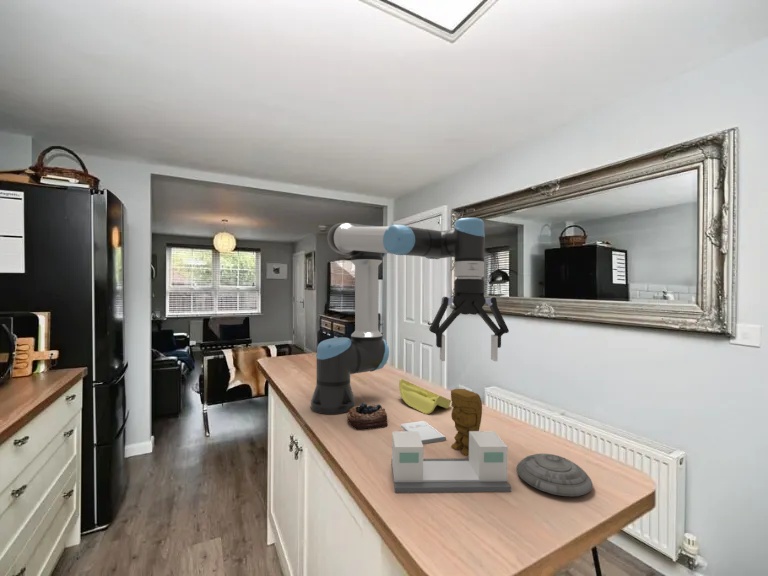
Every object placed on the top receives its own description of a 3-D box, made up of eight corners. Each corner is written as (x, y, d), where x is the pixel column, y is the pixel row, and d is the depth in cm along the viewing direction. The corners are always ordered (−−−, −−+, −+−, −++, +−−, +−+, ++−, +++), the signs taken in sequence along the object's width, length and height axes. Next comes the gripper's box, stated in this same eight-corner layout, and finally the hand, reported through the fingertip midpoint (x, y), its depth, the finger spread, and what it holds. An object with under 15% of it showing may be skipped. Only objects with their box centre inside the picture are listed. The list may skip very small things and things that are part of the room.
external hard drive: (419, 446, 94) (400, 428, 105) (446, 442, 96) (425, 425, 108) (419, 440, 94) (400, 423, 105) (446, 436, 96) (425, 420, 108)
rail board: (391, 463, 84) (392, 427, 83) (490, 462, 84) (491, 427, 84) (395, 492, 72) (395, 451, 72) (510, 491, 72) (511, 451, 72)
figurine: (447, 446, 93) (448, 389, 93) (466, 441, 96) (467, 386, 96) (466, 457, 87) (467, 397, 87) (485, 451, 90) (486, 393, 90)
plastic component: (453, 401, 122) (437, 394, 116) (446, 422, 121) (429, 415, 115) (414, 384, 138) (397, 377, 132) (407, 402, 136) (390, 396, 130)
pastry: (391, 427, 105) (391, 408, 105) (352, 432, 101) (352, 412, 101) (380, 415, 115) (380, 397, 115) (344, 418, 112) (344, 400, 112)
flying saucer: (502, 477, 78) (503, 453, 78) (538, 458, 87) (538, 436, 87) (572, 512, 66) (572, 483, 66) (604, 486, 75) (605, 460, 75)
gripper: (423, 277, 87) (422, 363, 87) (522, 278, 88) (521, 363, 88) (419, 278, 94) (418, 357, 94) (510, 279, 95) (509, 357, 95)
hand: (468, 360), depth 91 cm, fingers open, 13 cm apart
